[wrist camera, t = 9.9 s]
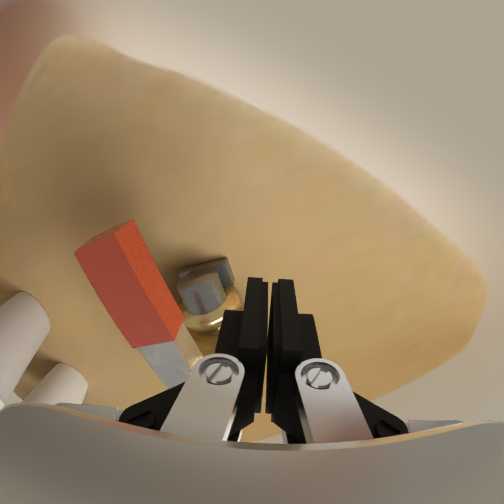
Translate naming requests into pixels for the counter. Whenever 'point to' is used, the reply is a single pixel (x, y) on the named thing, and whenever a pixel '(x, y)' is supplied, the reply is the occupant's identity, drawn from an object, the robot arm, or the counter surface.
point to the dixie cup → (59, 387)
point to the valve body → (208, 303)
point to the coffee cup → (19, 339)
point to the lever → (139, 301)
